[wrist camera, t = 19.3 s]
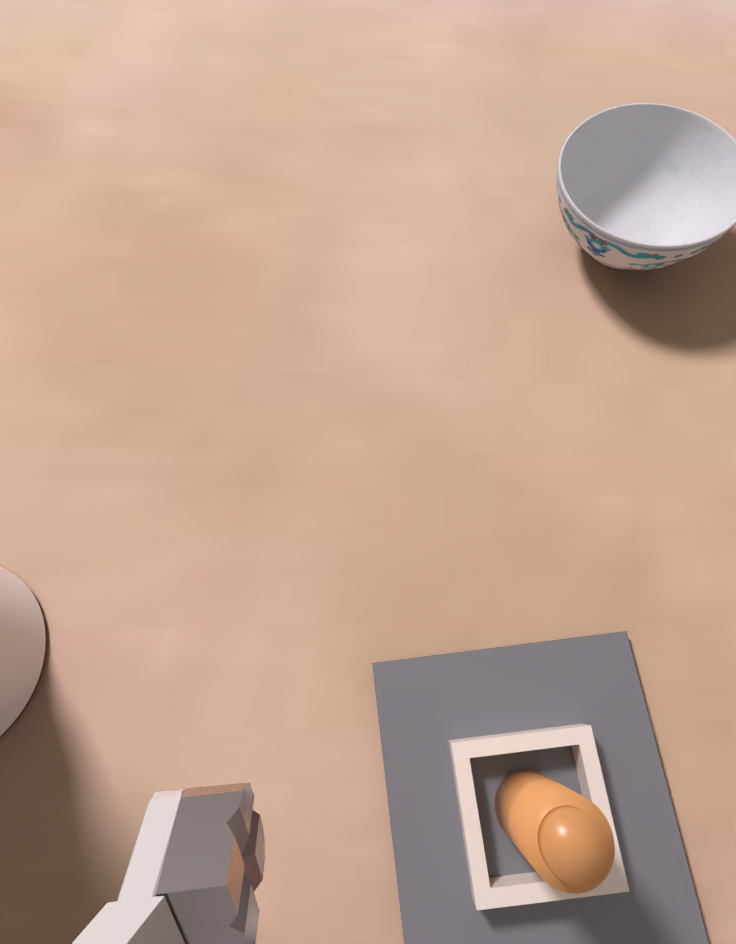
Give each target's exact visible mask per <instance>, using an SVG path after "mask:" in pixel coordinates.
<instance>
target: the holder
mask: <svg viewBox="0 0 736 944" xmlns="http://www.w3.org/2000/svg"><path fill="white" fill-rule="evenodd" d="M372 665H373V673H374V682H375V691H376V700H377V708H378V717H379V726H380V734H381V743H382V752H383V761H384V769H385V778H386V787H387V796H388V804H389V813H390V822H391V831H392V839H393V848H394V857H395V866H396V874H397V883H398V892H399V901H400V909H401V918H402V927H403V936H404V944H709V942H708V938H707V935H706V931H705V927H704V923H703V920H702V916H701V912H700V908H699V904H698V901H697V897H696V893H695V889H694V885H693V882H692V878H691V874H690V870H689V866H688V863H687V859H686V855H685V851H684V848H683V844H682V840H681V836H680V832H679V829H678V825H677V821H676V817H675V813H674V810H673V806H672V802H671V798H670V795H669V791H668V787H667V783H666V779H665V776H664V772H663V768H662V764H661V760H660V757H659V753H658V749H657V745H656V741H655V738H654V734H653V730H652V726H651V723H650V719H649V715H648V711H647V707H646V704H645V700H644V696H643V692H642V688H641V685H640V681H639V677H638V673H637V669H636V666H635V662H634V658H633V654H632V651H631V647H630V643H629V639H628V635H627V632H626V631H624V632H616V633H608V634H600V635H592V636H584V637H576V638H568V639H560V640H552V641H544V642H536V643H528V644H520V645H512V646H505V647H497V648H489V649H481V650H473V651H465V652H457V653H449V654H441V655H433V656H425V657H417V658H409V659H401V660H393V661H385V662H377V663H372ZM521 769H531V770H535V771H538V772H540V773H542V774H544V775H546V776H547V777H549V778H551V779H553V780H555V781H556V782H558V783H560V784H562V785H564V786H565V787H567V788H569V789H571V790H573V791H574V792H576V793H578V794H580V795H582V796H583V797H585V798H587V799H589V800H590V801H591V802H593V803H594V804H595V805H596V806H597V807H598V808H599V809H600V810H601V811H602V813H603V814H604V816H605V817H606V819H607V821H608V822H609V824H610V827H611V830H612V833H613V837H614V843H615V855H614V861H613V865H612V868H611V870H610V872H609V874H608V876H607V877H606V879H605V880H604V881H603V882H602V883H601V884H600V885H599V886H598V887H596V888H595V889H593V890H591V891H588V892H585V893H580V894H572V893H566V892H562V891H560V890H558V889H555V888H554V887H552V886H550V885H549V884H548V883H547V882H545V881H544V880H543V879H542V878H541V877H540V875H539V874H538V873H537V872H536V870H535V869H534V868H533V867H532V865H531V864H530V863H529V862H528V861H527V859H526V858H525V857H524V856H523V854H522V853H521V852H520V851H519V849H518V848H517V847H516V846H515V845H514V843H513V842H512V841H511V840H510V838H509V837H508V836H507V835H506V833H505V832H504V831H503V830H502V828H501V826H500V824H499V822H498V820H497V817H496V813H495V795H496V792H497V789H498V787H499V785H500V783H501V782H502V780H503V779H504V778H505V777H506V776H507V775H509V774H510V773H512V772H514V771H517V770H521Z"/></svg>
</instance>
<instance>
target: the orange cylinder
mask: <svg viewBox="0 0 736 944" xmlns="http://www.w3.org/2000/svg"><path fill="white" fill-rule="evenodd" d="M495 813H496V817H497V820H498V822H499V824H500V826H501V828H502V830H503V831H504V832H505V833H506V835H507V836H508V837H509V838H510V840H511V841H512V842H513V843H514V845H515V846H516V847H517V848H518V849H519V851H520V852H521V853H522V854H523V856H524V857H525V858H526V859H527V861H528V862H529V863H530V864H531V865H532V867H533V868H534V869H535V870H536V872H537V873H538V874H539V875H540V877H541V878H542V879H543V880H544V881H545V882H547V883H548V884H549V885H550V886H552V887H554V888H555V889H558V890H560V891H562V892H566V893H572V894H580V893H585V892H588V891H591V890H593V889H595V888H596V887H598V886H599V885H600V884H601V883H602V882H603V881H604V880H605V879H606V877H607V876H608V874H609V872H610V870H611V868H612V865H613V861H614V855H615V843H614V837H613V833H612V830H611V827H610V824H609V822H608V821H607V819H606V817H605V816H604V814H603V813H602V811H601V810H600V809H599V808H598V807H597V806H596V805H595V804H594V803H593V802H591V801H590V800H589V799H587V798H585V797H583V796H582V795H580V794H578V793H576V792H574V791H573V790H571V789H569V788H567V787H565V786H564V785H562V784H560V783H558V782H556V781H555V780H553V779H551V778H549V777H547V776H546V775H544V774H542V773H540V772H538V771H535V770H531V769H521V770H517V771H514V772H512V773H510V774H509V775H507V776H506V777H505V778H504V779H503V780H502V782H501V783H500V785H499V787H498V789H497V792H496V795H495Z"/></svg>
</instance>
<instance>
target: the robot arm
mask: <svg viewBox="0 0 736 944" xmlns="http://www.w3.org/2000/svg"><path fill="white" fill-rule="evenodd" d="M45 643H46V636H45V625H44V619H43V616H42V612H41V609H40V606H39V604H38V602H37V600H36V598H35V596H34V595H33V593H32V592H31V590H30V589H29V588H28V587H27V585H26V584H25V583H24V582H23V581H22V580H21V579H19V578H18V577H17V576H16V575H14V574H13V573H11V572H9V571H7V570H6V569H4V568H2V567H0V736H1V735H2V734H3V733H4V732H5V731H6V730H7V729H8V728H9V727H10V726H11V724H12V723H13V722H14V721H15V720H16V718H17V717H18V716H19V714H20V713H21V712H22V710H23V709H24V707H25V706H26V704H27V702H28V701H29V699H30V697H31V695H32V693H33V691H34V689H35V686H36V684H37V681H38V679H39V676H40V673H41V669H42V665H43V661H44V655H45ZM253 802H254V794H253V791H252V788H251V785H250V783H240V784H229V785H219V786H208V787H198V788H187V789H178V790H170V791H161V792H155V794H154V795H153V797H152V798H151V800H150V801H149V803H148V806H147V809H146V812H145V815H144V818H143V821H142V825H141V828H140V831H139V834H138V837H137V840H136V843H135V846H134V850H133V853H132V856H131V859H130V862H129V865H128V868H127V871H126V875H125V878H124V881H123V884H122V887H121V890H120V893H119V896H118V900H117V901H114V902H108V903H106V905H105V906H104V907H103V908H102V909H101V910H100V912H99V913H98V914H97V915H96V916H95V917H94V918H93V920H92V921H91V922H90V923H89V924H88V925H87V926H86V928H85V929H84V930H83V931H82V932H81V933H80V935H79V936H78V937H77V938H76V939H75V940H74V941H73V943H72V944H255V942H256V934H257V925H258V916H259V908H258V905H257V902H256V899H255V896H254V891H255V890H256V888H257V887H258V885H259V884H260V882H261V881H262V880H263V871H264V860H265V848H264V832H263V825H262V821H261V817H260V814H258V813H257V812H255V811H254V810H252V809H253Z"/></svg>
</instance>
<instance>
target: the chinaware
mask: <svg viewBox="0 0 736 944" xmlns="http://www.w3.org/2000/svg"><path fill="white" fill-rule="evenodd" d="M557 194H558V201H559V207H560V211H561V214H562V217H563V220H564V222H565V225H566V227H567V229H568V230H569V232H570V234H571V235H572V237H573V238H574V239H575V241H576V242H577V243H578V244H579V245H580V246H581V247H582V248H583V249H584V250H585V251H586V252H587V253H589V254H590V255H591V256H592V257H593V258H594V259H595V260H597V261H598V262H600V263H601V264H603V265H605V266H608V267H611V268H615V269H630V270H649V269H657V268H662V267H666V266H670V265H673V264H676V263H679V262H682V261H684V260H686V259H688V258H690V257H692V256H694V255H696V254H698V253H700V252H701V251H703V250H704V249H706V248H708V247H709V246H710V245H712V244H713V243H715V242H716V241H717V240H718V239H720V238H721V237H722V236H723V235H725V234H726V233H727V232H728V231H729V230H730V229H731V228H732V227H733V226H734V225H735V224H736V140H735V139H734V138H733V137H732V136H731V135H730V134H729V133H728V132H727V131H726V130H724V129H723V128H722V127H721V126H719V125H718V124H716V123H715V122H713V121H711V120H710V119H708V118H706V117H704V116H702V115H700V114H697V113H695V112H692V111H690V110H687V109H683V108H680V107H676V106H671V105H665V104H657V103H634V104H626V105H621V106H616V107H612V108H609V109H606V110H604V111H601V112H599V113H597V114H595V115H593V116H591V117H589V118H588V119H586V120H585V121H583V122H582V123H581V124H580V125H579V126H577V127H576V128H575V129H574V130H573V132H572V133H571V134H570V135H569V137H568V138H567V140H566V141H565V143H564V145H563V147H562V150H561V153H560V156H559V161H558V169H557Z"/></svg>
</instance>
